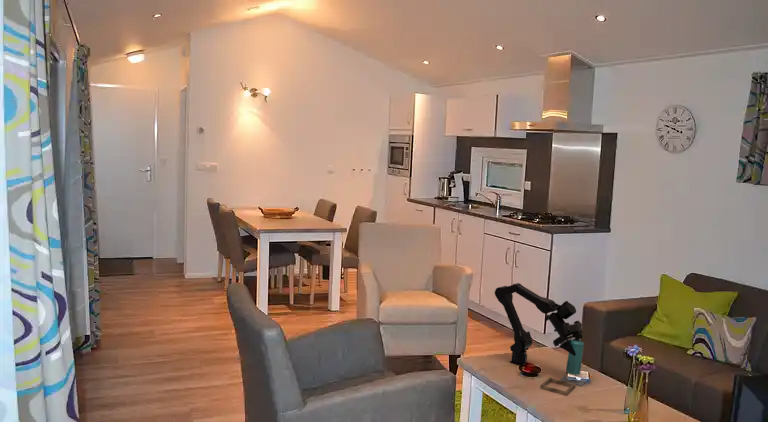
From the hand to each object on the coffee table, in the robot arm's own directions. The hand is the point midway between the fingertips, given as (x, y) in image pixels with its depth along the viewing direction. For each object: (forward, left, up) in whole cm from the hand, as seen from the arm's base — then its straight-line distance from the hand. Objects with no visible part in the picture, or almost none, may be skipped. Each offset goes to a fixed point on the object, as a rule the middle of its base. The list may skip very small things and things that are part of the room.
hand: (578, 353), depth 298 cm
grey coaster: (-1, +1, -13) cm, 13 cm away
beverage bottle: (-2, -1, -11) cm, 11 cm away
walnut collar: (-4, -13, -13) cm, 19 cm away
